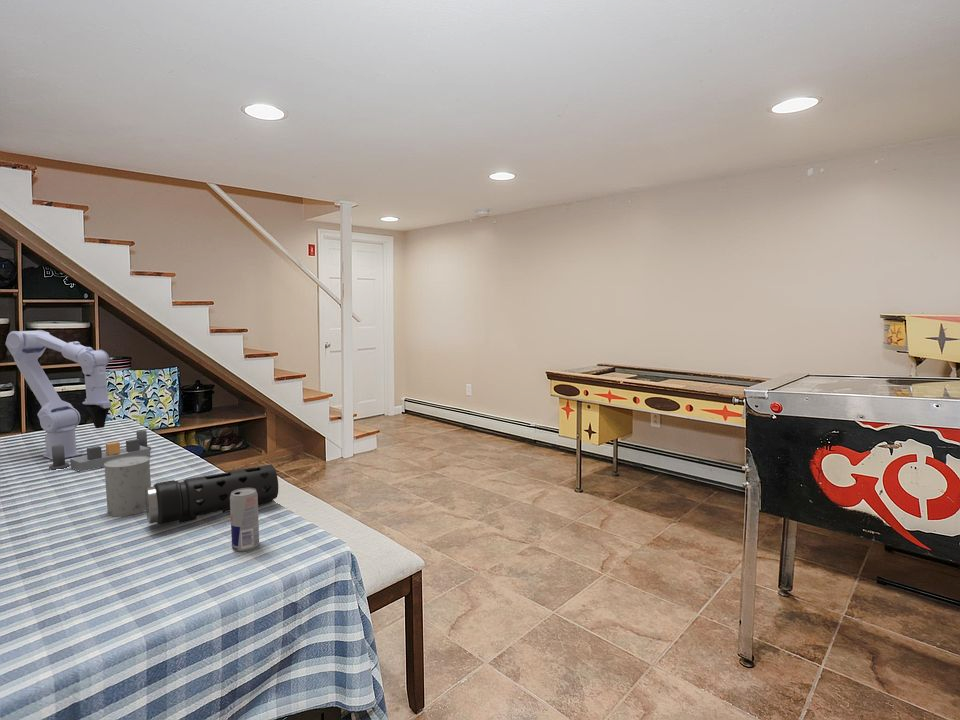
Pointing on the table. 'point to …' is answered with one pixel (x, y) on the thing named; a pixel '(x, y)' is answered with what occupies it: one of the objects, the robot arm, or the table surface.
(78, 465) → the box
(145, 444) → the post
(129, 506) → the concrete cylinder
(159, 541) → the table surface
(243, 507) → the energy drink
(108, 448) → the switch
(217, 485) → the muzzle brake
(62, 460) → the grey disc-based knob
